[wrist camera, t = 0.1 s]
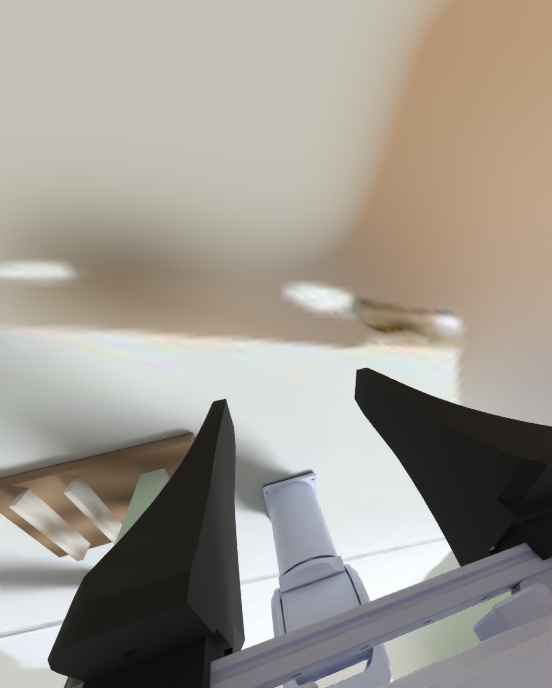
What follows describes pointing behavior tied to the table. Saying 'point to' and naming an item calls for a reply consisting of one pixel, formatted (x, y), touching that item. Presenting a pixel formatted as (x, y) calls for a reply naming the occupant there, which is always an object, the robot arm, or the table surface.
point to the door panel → (143, 497)
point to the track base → (85, 495)
